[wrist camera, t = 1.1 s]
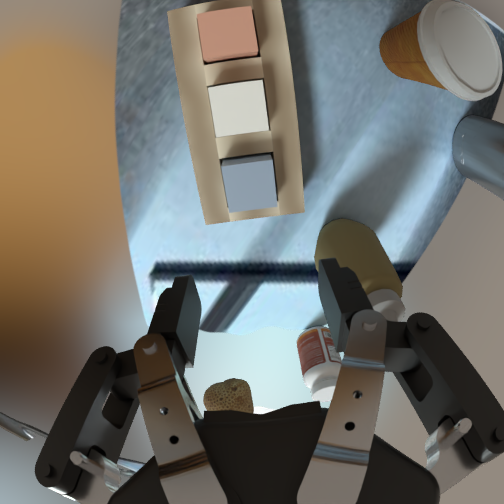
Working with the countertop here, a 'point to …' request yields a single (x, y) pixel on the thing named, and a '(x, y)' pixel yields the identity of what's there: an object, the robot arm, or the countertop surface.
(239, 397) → the natural sponge
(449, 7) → the disposable coffee cup
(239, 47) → the terracotta key
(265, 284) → the countertop surface
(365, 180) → the countertop surface
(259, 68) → the key box
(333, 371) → the pill bottle
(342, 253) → the squeeze bottle
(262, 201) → the slate key
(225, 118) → the white key
